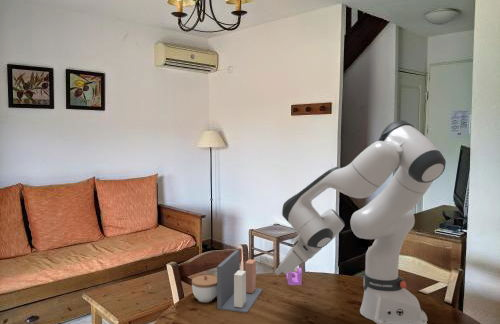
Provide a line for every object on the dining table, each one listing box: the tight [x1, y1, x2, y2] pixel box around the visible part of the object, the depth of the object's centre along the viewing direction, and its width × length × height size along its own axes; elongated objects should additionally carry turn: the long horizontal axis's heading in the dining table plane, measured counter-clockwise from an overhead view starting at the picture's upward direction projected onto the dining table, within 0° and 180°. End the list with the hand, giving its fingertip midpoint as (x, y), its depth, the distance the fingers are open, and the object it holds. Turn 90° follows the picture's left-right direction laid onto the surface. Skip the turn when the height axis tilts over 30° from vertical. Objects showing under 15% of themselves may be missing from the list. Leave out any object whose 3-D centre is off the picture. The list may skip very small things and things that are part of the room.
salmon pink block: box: [244, 258, 257, 293], centre depth 162 cm, size 3×5×12 cm, turn 164°
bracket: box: [285, 267, 303, 286], centre depth 177 cm, size 13×6×7 cm, turn 1°
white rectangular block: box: [234, 269, 246, 308], centre depth 148 cm, size 3×5×12 cm, turn 164°
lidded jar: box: [191, 274, 217, 303], centre depth 156 cm, size 11×11×9 cm
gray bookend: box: [216, 249, 263, 314], centre depth 156 cm, size 12×22×16 cm, turn 164°
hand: (278, 270), depth 144 cm, fingers open, 4 cm apart
